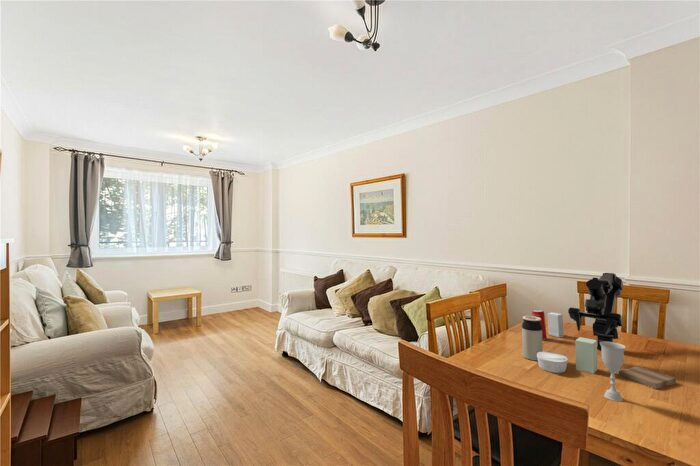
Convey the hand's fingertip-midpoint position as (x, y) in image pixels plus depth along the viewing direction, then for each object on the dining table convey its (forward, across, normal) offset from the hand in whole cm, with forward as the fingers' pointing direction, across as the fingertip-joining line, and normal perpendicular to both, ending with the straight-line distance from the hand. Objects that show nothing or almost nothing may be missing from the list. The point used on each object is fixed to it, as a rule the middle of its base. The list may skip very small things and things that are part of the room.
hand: (591, 332), depth 142 cm
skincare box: (-13, -23, +32) cm, 42 cm away
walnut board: (+12, +18, +7) cm, 23 cm away
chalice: (+30, +12, -11) cm, 34 cm away
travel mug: (+16, -20, +3) cm, 26 cm away
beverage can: (-5, -27, +24) cm, 37 cm away
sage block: (+15, 0, +4) cm, 16 cm away
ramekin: (+22, -10, -2) cm, 24 cm away
